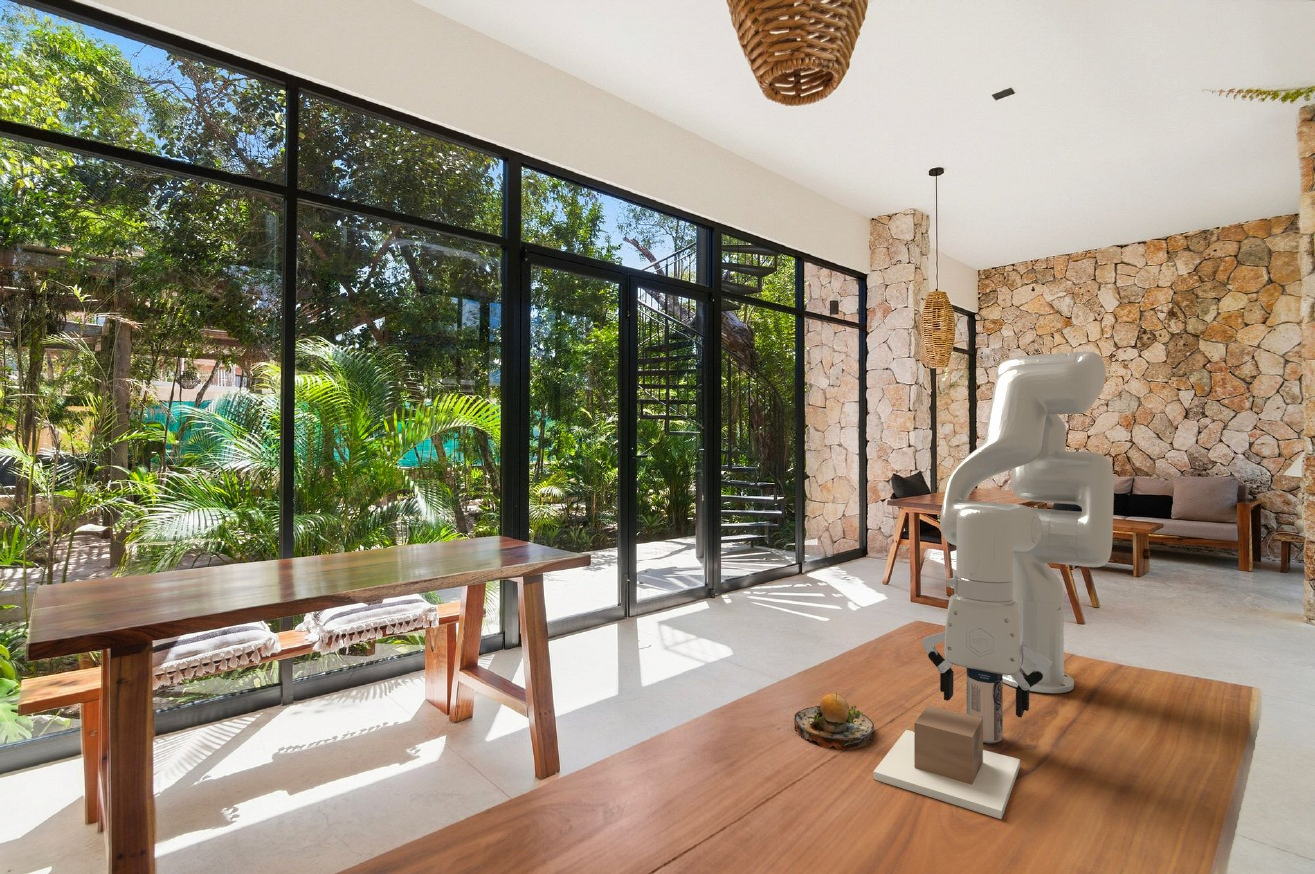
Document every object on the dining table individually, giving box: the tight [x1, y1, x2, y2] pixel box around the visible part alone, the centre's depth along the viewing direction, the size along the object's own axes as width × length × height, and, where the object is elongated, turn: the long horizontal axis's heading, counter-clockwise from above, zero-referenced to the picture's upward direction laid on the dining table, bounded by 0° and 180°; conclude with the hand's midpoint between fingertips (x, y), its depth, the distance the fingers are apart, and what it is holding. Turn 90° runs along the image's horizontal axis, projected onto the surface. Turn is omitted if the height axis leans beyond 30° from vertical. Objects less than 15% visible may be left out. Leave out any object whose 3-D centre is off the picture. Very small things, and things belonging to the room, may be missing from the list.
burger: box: [793, 692, 875, 750], centre depth 99 cm, size 12×12×8 cm
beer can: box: [966, 668, 1004, 744], centre depth 96 cm, size 5×5×12 cm
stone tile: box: [872, 729, 1021, 820], centre depth 86 cm, size 15×15×1 cm
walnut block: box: [913, 704, 984, 785], centre depth 86 cm, size 7×7×6 cm
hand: (983, 705), depth 96 cm, fingers open, 9 cm apart
